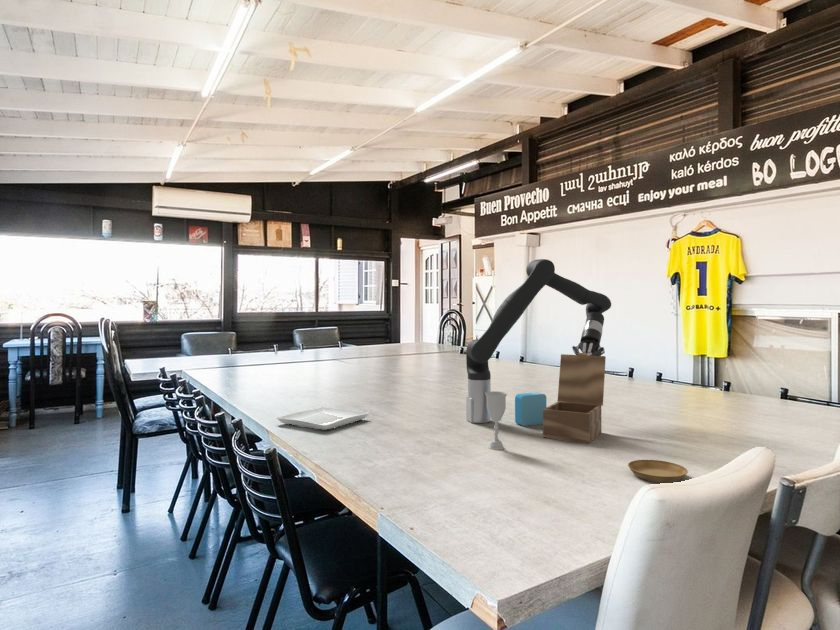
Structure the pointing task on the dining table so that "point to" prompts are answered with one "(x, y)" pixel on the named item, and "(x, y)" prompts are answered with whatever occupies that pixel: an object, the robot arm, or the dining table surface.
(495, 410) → the chalice
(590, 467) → the dining table surface
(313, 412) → the square plate
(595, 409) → the walnut box
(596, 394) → the walnut lid
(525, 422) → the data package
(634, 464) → the plant saucer
